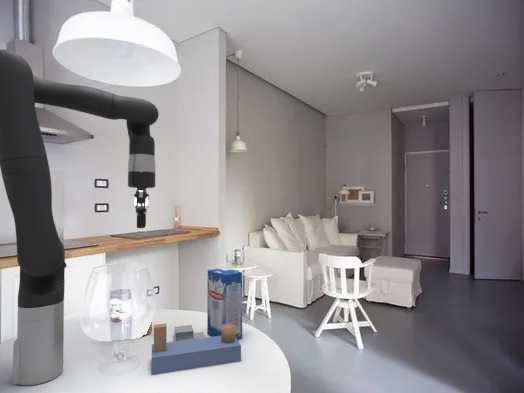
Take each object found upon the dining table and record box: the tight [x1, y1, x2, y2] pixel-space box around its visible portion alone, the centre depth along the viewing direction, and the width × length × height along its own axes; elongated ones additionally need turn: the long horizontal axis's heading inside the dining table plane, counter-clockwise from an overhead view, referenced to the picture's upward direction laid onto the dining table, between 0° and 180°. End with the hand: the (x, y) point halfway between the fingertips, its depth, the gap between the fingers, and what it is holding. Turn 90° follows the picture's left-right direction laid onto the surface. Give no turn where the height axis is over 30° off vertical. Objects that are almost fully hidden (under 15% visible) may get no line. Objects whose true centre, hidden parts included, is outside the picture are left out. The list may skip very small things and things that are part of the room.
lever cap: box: [172, 324, 206, 342], centre depth 97 cm, size 9×5×4 cm, turn 109°
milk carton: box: [206, 267, 243, 341], centre depth 102 cm, size 10×6×20 cm, turn 41°
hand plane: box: [150, 322, 242, 376], centre depth 86 cm, size 22×8×10 cm, turn 108°
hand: (141, 227), depth 96 cm, fingers open, 8 cm apart
